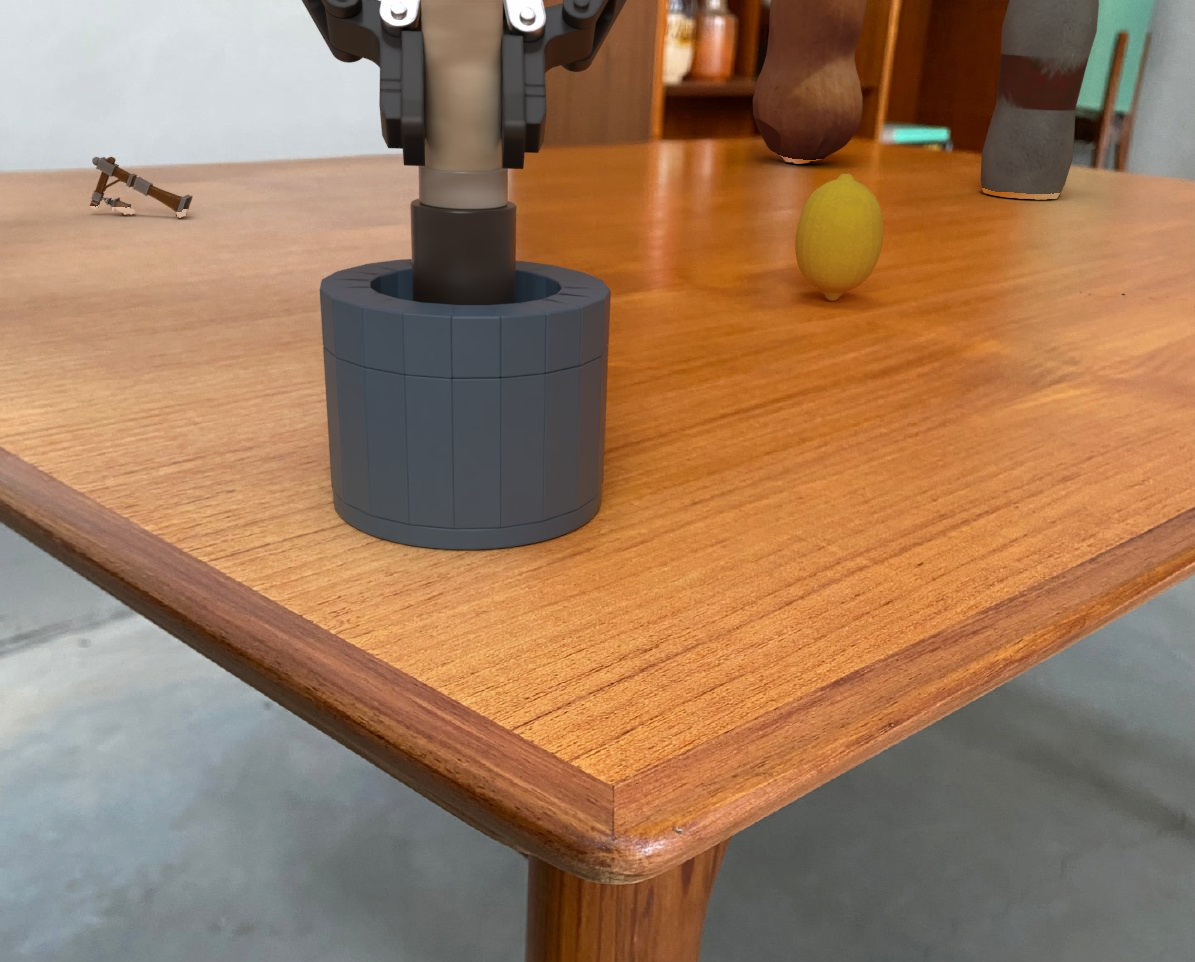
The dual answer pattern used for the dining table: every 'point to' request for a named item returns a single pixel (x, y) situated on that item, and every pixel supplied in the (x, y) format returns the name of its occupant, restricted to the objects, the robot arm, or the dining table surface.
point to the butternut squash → (810, 78)
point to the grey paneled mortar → (465, 407)
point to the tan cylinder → (463, 161)
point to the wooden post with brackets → (133, 181)
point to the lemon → (839, 236)
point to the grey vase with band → (1038, 94)
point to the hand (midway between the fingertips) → (464, 149)
